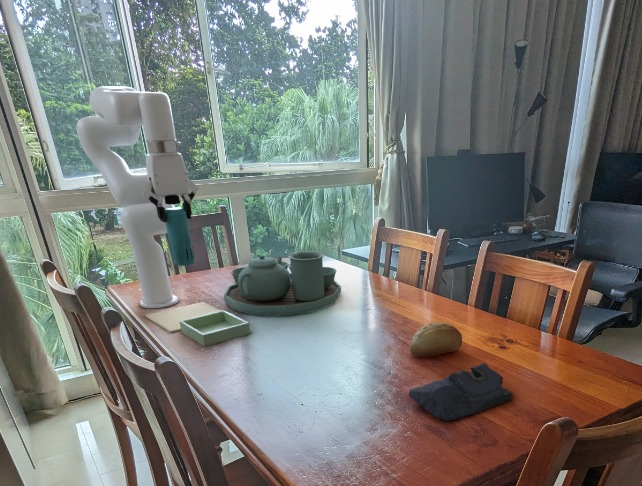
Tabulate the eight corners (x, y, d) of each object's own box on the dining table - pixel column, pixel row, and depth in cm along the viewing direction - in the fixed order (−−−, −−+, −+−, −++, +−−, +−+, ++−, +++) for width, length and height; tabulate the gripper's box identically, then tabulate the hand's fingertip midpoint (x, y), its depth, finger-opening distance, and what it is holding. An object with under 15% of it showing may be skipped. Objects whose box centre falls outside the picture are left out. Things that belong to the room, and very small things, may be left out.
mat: (145, 316, 165) (145, 315, 164) (203, 303, 175) (202, 301, 175) (171, 333, 151) (170, 331, 151) (231, 317, 162) (230, 315, 162)
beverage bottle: (190, 271, 148) (176, 197, 137) (169, 270, 149) (154, 196, 139) (200, 265, 154) (188, 193, 143) (180, 264, 155) (166, 192, 144)
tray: (181, 331, 152) (179, 321, 150) (225, 320, 160) (223, 310, 158) (204, 346, 142) (202, 335, 140) (250, 333, 150) (249, 322, 148)
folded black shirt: (398, 397, 114) (398, 378, 111) (470, 373, 124) (472, 354, 121) (443, 426, 102) (445, 406, 100) (519, 397, 113) (522, 377, 110)
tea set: (349, 284, 192) (348, 238, 183) (325, 320, 158) (322, 265, 150) (249, 281, 198) (243, 237, 189) (205, 315, 164) (196, 263, 156)
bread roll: (470, 354, 133) (473, 325, 129) (420, 365, 128) (422, 335, 124) (450, 342, 141) (453, 314, 136) (402, 351, 136) (403, 322, 131)
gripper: (187, 145, 142) (198, 214, 151) (124, 149, 132) (140, 221, 142) (199, 147, 137) (210, 218, 147) (135, 150, 127) (151, 226, 137)
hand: (175, 219), depth 144 cm, fingers closed on beverage bottle, 6 cm apart
